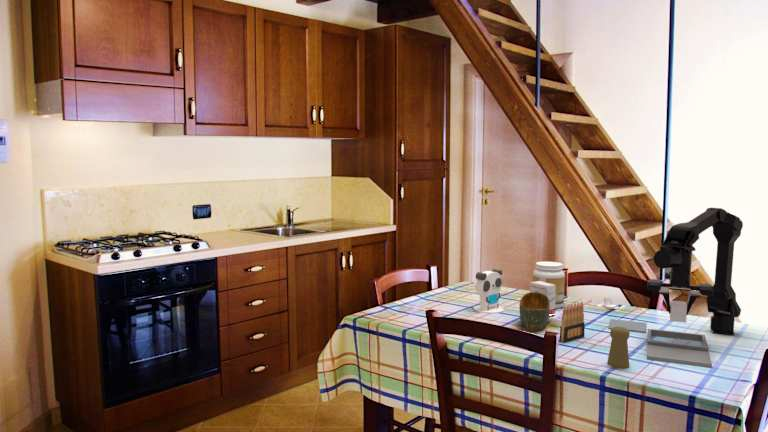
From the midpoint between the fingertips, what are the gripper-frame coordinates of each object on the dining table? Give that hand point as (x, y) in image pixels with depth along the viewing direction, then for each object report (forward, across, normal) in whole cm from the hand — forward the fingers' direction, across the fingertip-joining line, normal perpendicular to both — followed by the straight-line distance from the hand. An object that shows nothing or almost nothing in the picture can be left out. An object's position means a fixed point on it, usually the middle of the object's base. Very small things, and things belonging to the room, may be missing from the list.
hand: (678, 314), depth 199 cm
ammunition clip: (+10, +31, +9) cm, 34 cm away
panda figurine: (+10, +65, -17) cm, 68 cm away
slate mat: (+10, +15, -15) cm, 23 cm away
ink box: (+10, +45, -19) cm, 50 cm away
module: (+2, 0, 0) cm, 2 cm away
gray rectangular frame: (+10, 0, +6) cm, 11 cm away
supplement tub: (+10, +45, -33) cm, 57 cm away
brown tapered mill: (+10, +16, +29) cm, 34 cm away
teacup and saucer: (+10, +25, -40) cm, 48 cm away
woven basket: (+10, +45, -3) cm, 46 cm away
